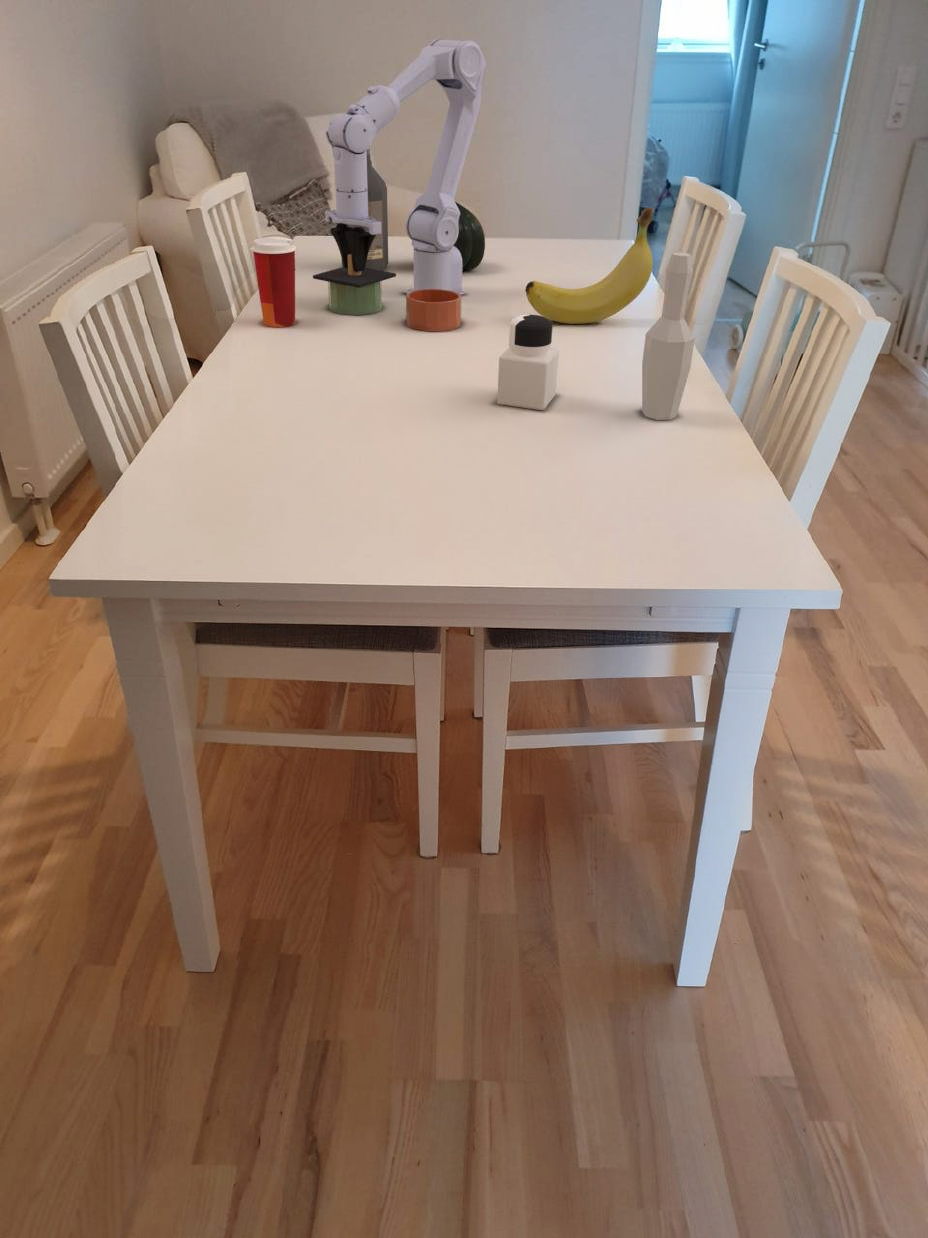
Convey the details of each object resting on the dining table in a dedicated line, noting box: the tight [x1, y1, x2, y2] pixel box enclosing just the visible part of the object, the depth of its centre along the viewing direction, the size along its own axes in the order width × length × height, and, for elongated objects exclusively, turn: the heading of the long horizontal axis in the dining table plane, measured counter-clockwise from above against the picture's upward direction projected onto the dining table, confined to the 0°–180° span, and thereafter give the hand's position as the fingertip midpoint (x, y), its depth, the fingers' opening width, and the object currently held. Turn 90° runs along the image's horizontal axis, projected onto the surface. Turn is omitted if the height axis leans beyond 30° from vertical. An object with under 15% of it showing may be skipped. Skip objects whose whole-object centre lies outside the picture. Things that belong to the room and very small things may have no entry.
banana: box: [525, 207, 655, 325], centre depth 172 cm, size 23×6×20 cm, turn 94°
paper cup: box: [249, 236, 297, 328], centre depth 169 cm, size 8×8×14 cm
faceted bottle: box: [641, 251, 696, 421], centre depth 132 cm, size 6×6×22 cm
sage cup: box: [327, 281, 383, 316], centre depth 181 cm, size 10×10×5 cm
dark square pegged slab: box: [312, 254, 397, 288], centre depth 178 cm, size 11×11×4 cm
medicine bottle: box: [496, 314, 560, 411], centre depth 138 cm, size 7×7×12 cm
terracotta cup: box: [405, 289, 462, 332], centre depth 173 cm, size 10×10×5 cm
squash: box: [436, 201, 486, 272], centre depth 208 cm, size 14×15×15 cm
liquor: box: [341, 147, 389, 271], centre depth 201 cm, size 9×9×30 cm
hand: (354, 269), depth 178 cm, fingers closed on dark square pegged slab, 2 cm apart
